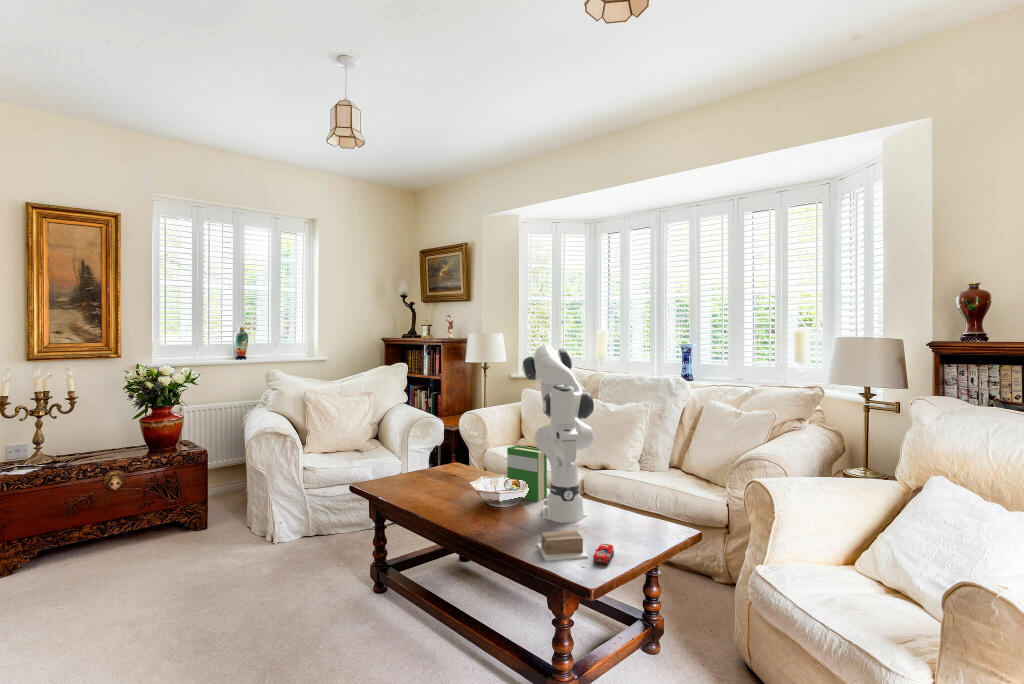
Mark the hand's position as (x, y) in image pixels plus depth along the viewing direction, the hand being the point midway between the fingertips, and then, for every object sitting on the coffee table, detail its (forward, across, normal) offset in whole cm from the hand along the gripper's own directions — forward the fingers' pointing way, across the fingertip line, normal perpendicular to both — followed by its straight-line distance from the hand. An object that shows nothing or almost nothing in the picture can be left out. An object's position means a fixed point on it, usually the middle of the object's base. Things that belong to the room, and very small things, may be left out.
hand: (563, 470), depth 189 cm
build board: (+29, 0, -1) cm, 29 cm away
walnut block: (+28, 0, -1) cm, 28 cm away
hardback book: (+30, -64, -1) cm, 70 cm away
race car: (+31, +12, +11) cm, 35 cm away
